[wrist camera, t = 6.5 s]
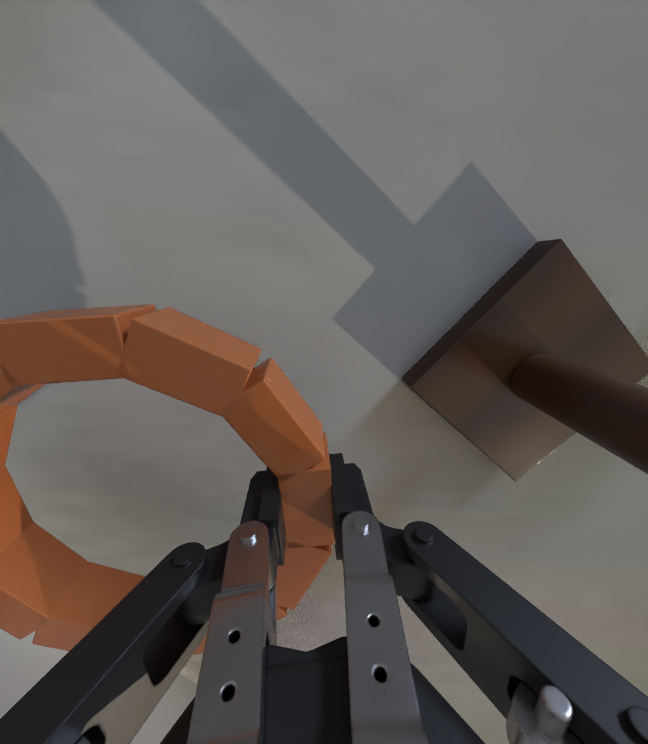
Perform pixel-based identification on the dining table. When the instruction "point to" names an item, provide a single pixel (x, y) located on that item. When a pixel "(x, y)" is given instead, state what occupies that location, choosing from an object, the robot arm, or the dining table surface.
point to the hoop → (176, 379)
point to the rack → (539, 367)
